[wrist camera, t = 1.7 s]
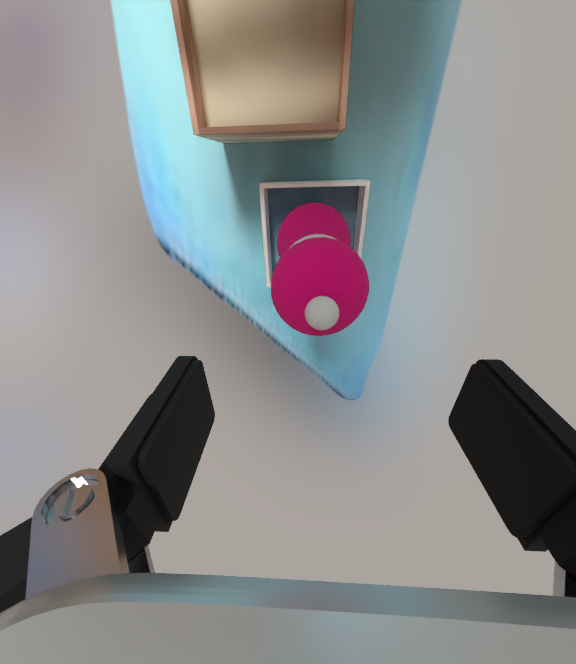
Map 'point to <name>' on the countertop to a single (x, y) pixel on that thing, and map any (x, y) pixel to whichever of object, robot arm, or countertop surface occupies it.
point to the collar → (362, 183)
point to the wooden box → (265, 67)
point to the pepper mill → (317, 272)
